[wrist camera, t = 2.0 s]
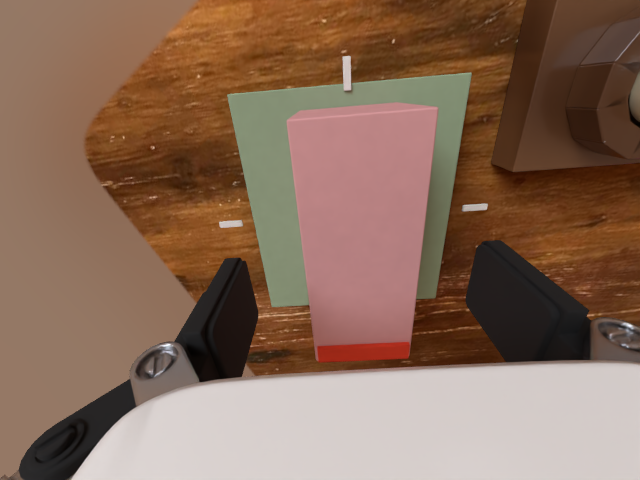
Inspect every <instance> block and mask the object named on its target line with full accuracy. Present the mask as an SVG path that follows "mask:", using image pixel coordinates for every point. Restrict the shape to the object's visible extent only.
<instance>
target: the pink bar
mask: <svg viewBox="0 0 640 480" xmlns="http://www.w3.org/2000/svg"><path fill="white" fill-rule="evenodd" d="M438 111H439V109H438V107H434V106H425V105H416V104H407V103H398V102H394V103H382V104H371V105H359V106H347V107H336V108H324V109H312V110H300V111H299V112H297V113H296V114H295V115H293V116H292V117H290V118H289V119H288V120H287V130H288V138H289V146H290V154H291V162H292V170H293V178H294V186H295V194H296V202H297V210H298V218H299V226H300V234H301V242H302V250H303V258H304V266H305V274H306V282H307V290H308V298H309V306H310V314H311V322H312V330H313V338H314V346H315V354H316V360H317V361H319V362H340V361H363V360H385V359H407V358H409V355H410V347H411V338H412V330H413V322H414V313H415V305H416V296H417V288H418V279H419V271H420V262H421V254H422V246H423V237H424V229H425V220H426V212H427V203H428V195H429V187H430V178H431V170H432V161H433V153H434V144H435V136H436V127H437V119H438Z"/></svg>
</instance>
